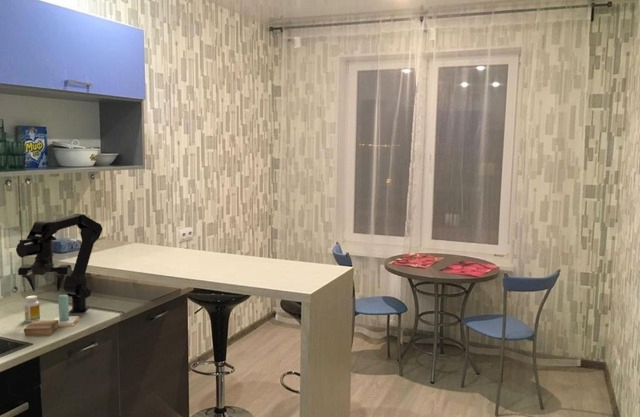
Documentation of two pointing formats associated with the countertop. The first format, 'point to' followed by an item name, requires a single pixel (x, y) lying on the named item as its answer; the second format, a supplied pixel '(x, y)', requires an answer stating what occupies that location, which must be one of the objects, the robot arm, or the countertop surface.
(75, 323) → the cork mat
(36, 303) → the supplement bottle
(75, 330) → the countertop surface
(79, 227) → the robot arm
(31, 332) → the walnut box
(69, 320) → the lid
